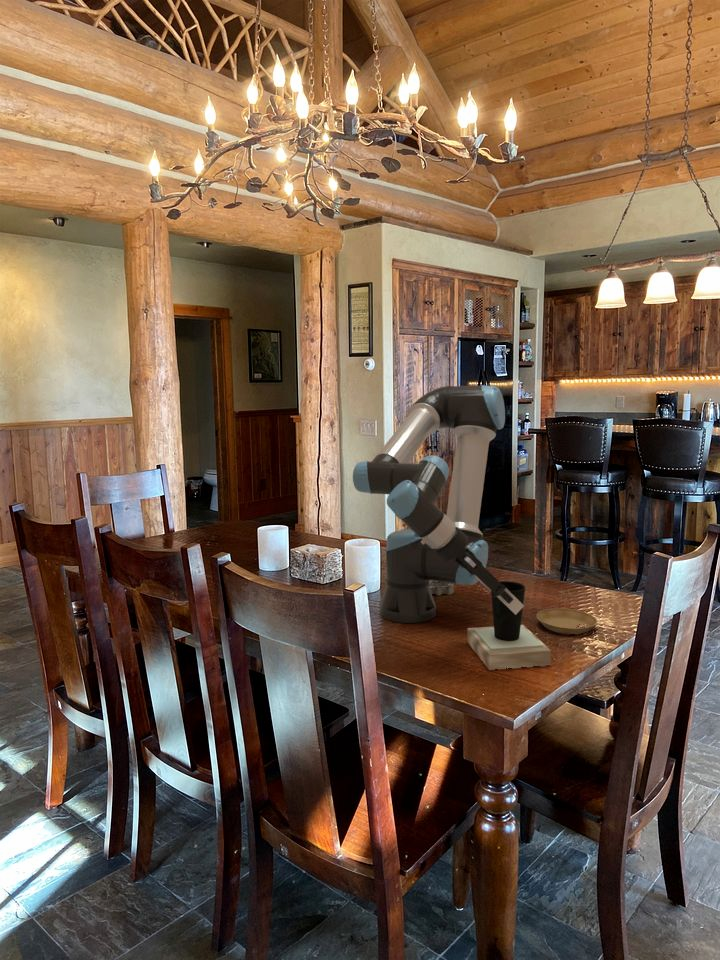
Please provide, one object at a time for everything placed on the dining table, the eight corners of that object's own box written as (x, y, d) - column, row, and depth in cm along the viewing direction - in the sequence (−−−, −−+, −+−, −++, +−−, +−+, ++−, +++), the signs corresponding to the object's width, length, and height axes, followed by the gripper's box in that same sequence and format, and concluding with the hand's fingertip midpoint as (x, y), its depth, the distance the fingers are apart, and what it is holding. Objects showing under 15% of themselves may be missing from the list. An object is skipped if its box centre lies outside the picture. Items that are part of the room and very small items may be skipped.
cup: (521, 630, 153) (522, 581, 151) (526, 643, 145) (527, 591, 144) (488, 630, 154) (489, 580, 152) (491, 642, 146) (492, 590, 144)
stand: (467, 642, 157) (467, 626, 156) (522, 638, 159) (523, 622, 158) (489, 670, 141) (489, 652, 141) (550, 665, 143) (551, 648, 142)
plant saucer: (603, 624, 168) (604, 614, 168) (587, 642, 156) (587, 632, 156) (547, 613, 177) (548, 604, 176) (527, 630, 165) (528, 620, 164)
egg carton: (449, 588, 200) (449, 575, 200) (456, 595, 193) (456, 582, 193) (415, 590, 199) (415, 577, 198) (421, 597, 192) (421, 584, 191)
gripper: (419, 537, 156) (478, 594, 160) (448, 565, 131) (517, 631, 136) (441, 514, 156) (499, 572, 160) (474, 538, 131) (542, 605, 136)
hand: (507, 599), depth 148 cm, fingers open, 13 cm apart
